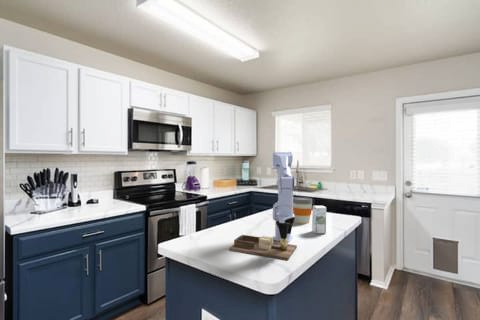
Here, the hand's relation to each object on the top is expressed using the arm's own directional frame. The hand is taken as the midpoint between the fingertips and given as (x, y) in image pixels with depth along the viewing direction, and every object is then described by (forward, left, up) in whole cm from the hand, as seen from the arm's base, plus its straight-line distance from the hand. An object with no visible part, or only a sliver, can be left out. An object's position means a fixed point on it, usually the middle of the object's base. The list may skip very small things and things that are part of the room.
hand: (285, 236), depth 111 cm
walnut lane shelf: (0, -10, -7) cm, 12 cm away
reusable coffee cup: (-57, -4, -7) cm, 58 cm away
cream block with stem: (0, -5, -6) cm, 8 cm away
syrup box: (-37, +9, -7) cm, 39 cm away
